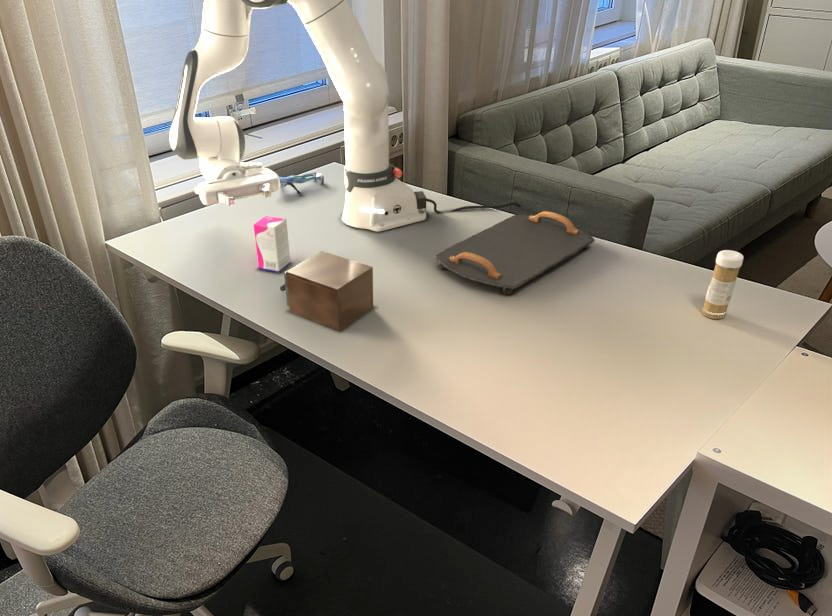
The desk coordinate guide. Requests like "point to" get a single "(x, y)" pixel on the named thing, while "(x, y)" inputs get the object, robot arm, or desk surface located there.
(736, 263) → the sprinkles bottle
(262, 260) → the supplement box
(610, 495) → the desk surface
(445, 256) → the serving tray
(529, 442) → the desk surface
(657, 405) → the desk surface
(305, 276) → the cabinet
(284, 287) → the drawer
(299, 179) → the person figurine
